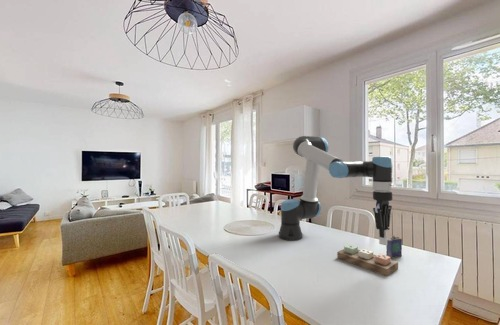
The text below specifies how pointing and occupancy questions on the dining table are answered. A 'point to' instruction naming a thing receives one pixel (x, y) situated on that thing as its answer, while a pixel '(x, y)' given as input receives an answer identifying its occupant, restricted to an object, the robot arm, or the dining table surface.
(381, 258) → the three-pip tile
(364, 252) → the tile
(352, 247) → the tile
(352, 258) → the board
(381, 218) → the robot arm
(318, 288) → the dining table surface
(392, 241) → the flask
